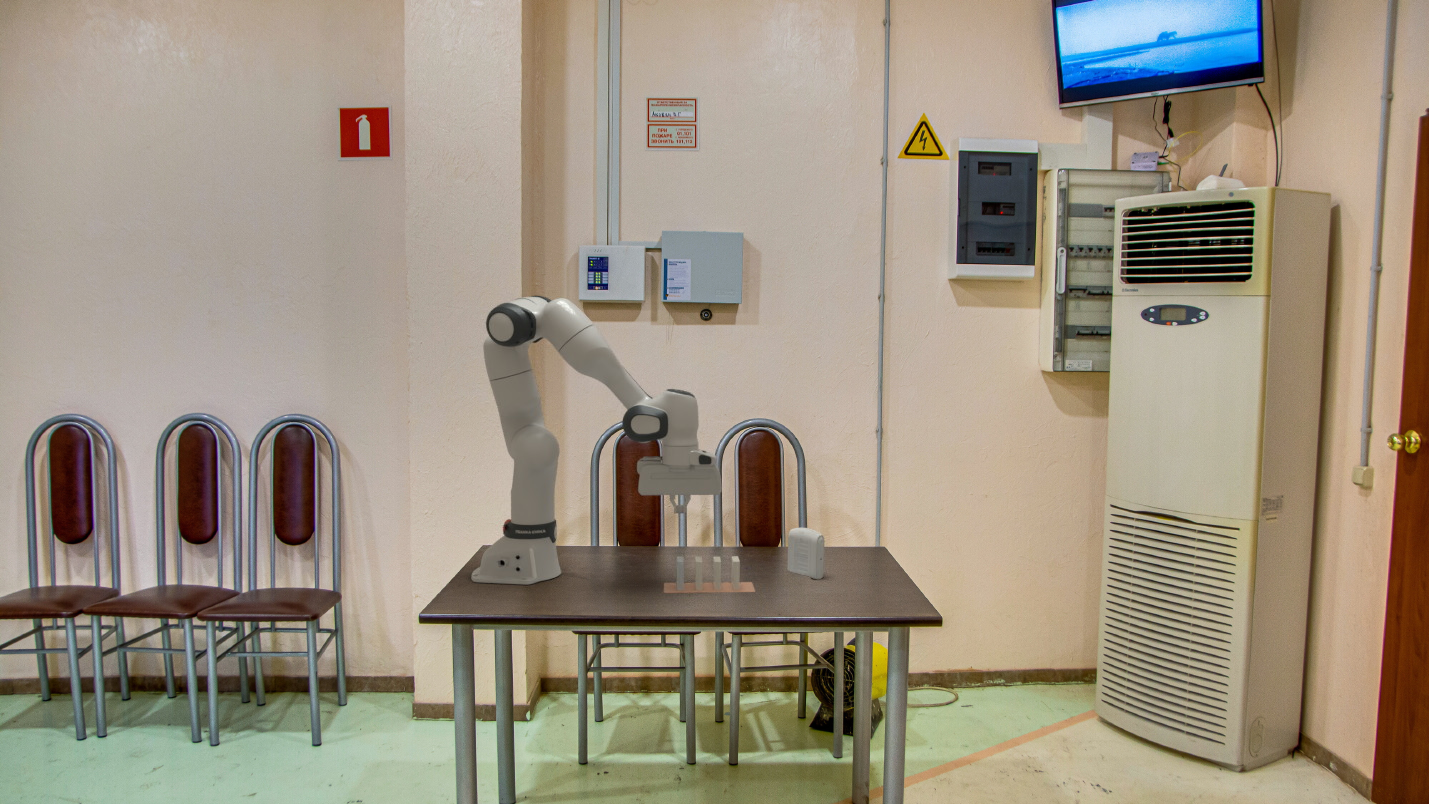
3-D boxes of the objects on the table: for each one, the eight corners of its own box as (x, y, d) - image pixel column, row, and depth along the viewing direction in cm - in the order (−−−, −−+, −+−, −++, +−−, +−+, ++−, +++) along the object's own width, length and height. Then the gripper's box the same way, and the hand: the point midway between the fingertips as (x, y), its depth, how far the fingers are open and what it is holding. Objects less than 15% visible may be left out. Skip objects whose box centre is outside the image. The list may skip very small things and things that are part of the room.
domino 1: (676, 590, 189) (677, 561, 189) (676, 584, 194) (676, 556, 194) (683, 590, 189) (683, 561, 189) (683, 584, 194) (683, 556, 194)
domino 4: (732, 590, 190) (733, 561, 189) (731, 584, 195) (731, 556, 194) (739, 590, 190) (739, 561, 189) (737, 584, 195) (737, 556, 194)
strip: (663, 595, 187) (663, 592, 187) (663, 585, 195) (664, 583, 195) (755, 594, 189) (755, 591, 189) (751, 584, 197) (751, 582, 196)
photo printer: (826, 577, 203) (827, 530, 203) (816, 580, 200) (817, 532, 200) (794, 569, 210) (795, 524, 210) (784, 572, 207) (785, 526, 207)
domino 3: (714, 590, 189) (714, 561, 189) (713, 584, 194) (713, 556, 194) (721, 590, 190) (721, 561, 189) (719, 584, 194) (719, 556, 194)
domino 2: (695, 590, 189) (695, 562, 189) (695, 584, 194) (695, 556, 194) (702, 590, 189) (702, 562, 189) (701, 584, 194) (701, 556, 194)
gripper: (636, 458, 186) (636, 515, 187) (722, 458, 187) (722, 515, 188) (637, 454, 192) (637, 510, 193) (720, 454, 193) (720, 510, 194)
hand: (679, 513), depth 190 cm, fingers closed
